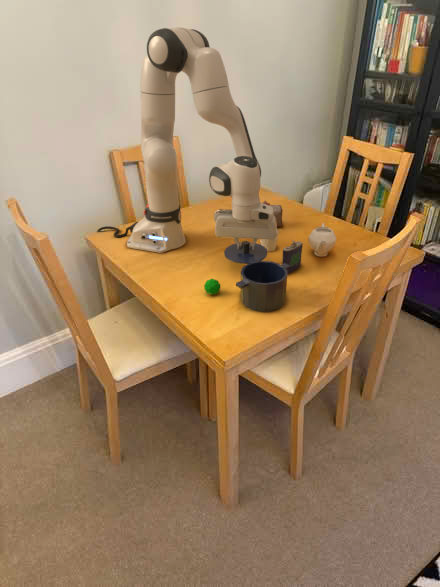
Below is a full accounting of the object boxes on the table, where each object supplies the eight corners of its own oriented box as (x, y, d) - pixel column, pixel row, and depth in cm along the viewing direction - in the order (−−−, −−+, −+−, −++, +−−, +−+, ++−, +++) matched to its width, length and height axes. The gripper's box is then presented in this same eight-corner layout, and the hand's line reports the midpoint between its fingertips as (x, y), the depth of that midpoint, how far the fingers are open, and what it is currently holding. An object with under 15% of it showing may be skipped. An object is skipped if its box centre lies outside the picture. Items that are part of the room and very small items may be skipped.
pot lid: (215, 253, 144) (215, 241, 141) (248, 240, 150) (248, 229, 148) (242, 270, 134) (242, 257, 131) (276, 256, 140) (277, 243, 138)
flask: (296, 263, 146) (298, 235, 140) (303, 266, 145) (306, 238, 139) (279, 273, 141) (281, 244, 135) (286, 276, 139) (288, 247, 133)
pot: (224, 299, 129) (224, 272, 123) (271, 279, 138) (273, 254, 132) (252, 320, 119) (253, 292, 114) (301, 298, 128) (304, 271, 123)
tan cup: (276, 252, 153) (277, 235, 149) (258, 251, 154) (258, 234, 150) (278, 244, 159) (279, 227, 155) (260, 243, 160) (260, 226, 156)
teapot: (334, 242, 159) (337, 219, 154) (334, 268, 143) (337, 243, 138) (308, 240, 161) (310, 217, 156) (305, 265, 145) (308, 241, 140)
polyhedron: (210, 299, 129) (210, 286, 126) (201, 292, 132) (200, 279, 130) (223, 293, 131) (223, 280, 129) (214, 287, 135) (214, 274, 132)
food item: (249, 230, 170) (249, 207, 165) (247, 222, 177) (247, 199, 171) (282, 229, 170) (284, 206, 165) (280, 221, 177) (281, 198, 171)
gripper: (211, 213, 132) (213, 251, 140) (277, 215, 129) (275, 254, 137) (215, 205, 137) (216, 243, 145) (278, 207, 134) (276, 245, 142)
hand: (245, 248), depth 141 cm, fingers closed on pot lid, 2 cm apart
